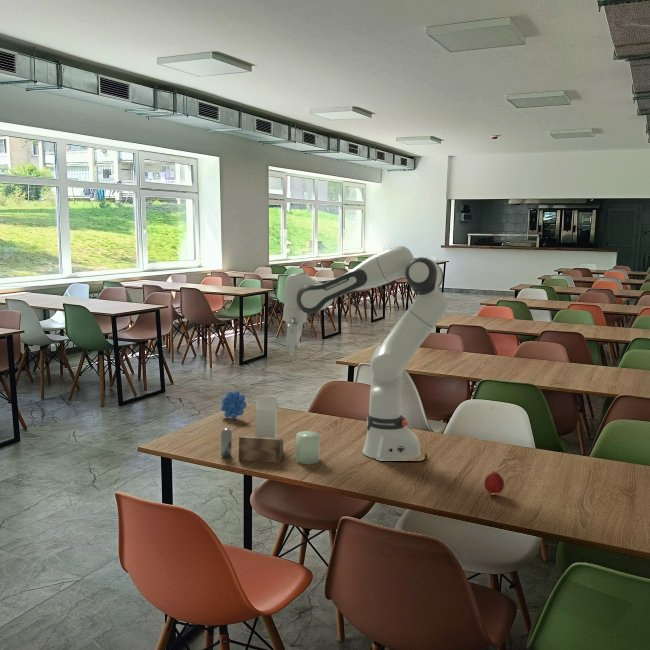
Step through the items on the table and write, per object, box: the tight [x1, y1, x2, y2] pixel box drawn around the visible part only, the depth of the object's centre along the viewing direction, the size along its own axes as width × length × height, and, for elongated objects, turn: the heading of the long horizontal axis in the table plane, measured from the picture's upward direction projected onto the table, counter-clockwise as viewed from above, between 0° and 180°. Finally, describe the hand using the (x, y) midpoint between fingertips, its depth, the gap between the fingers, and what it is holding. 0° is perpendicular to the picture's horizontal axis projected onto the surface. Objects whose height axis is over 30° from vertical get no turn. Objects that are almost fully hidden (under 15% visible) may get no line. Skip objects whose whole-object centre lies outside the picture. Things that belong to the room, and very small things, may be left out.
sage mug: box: [295, 430, 321, 465], centre depth 221 cm, size 8×11×9 cm
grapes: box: [220, 390, 248, 420], centre depth 264 cm, size 12×7×12 cm, turn 69°
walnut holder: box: [238, 435, 285, 463], centre depth 221 cm, size 14×9×8 cm, turn 86°
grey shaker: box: [220, 427, 233, 459], centre depth 221 cm, size 4×4×10 cm
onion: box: [483, 470, 505, 494], centre depth 196 cm, size 6×6×8 cm
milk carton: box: [254, 395, 278, 438], centre depth 230 cm, size 7×7×19 cm
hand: (293, 353), depth 240 cm, fingers open, 8 cm apart
